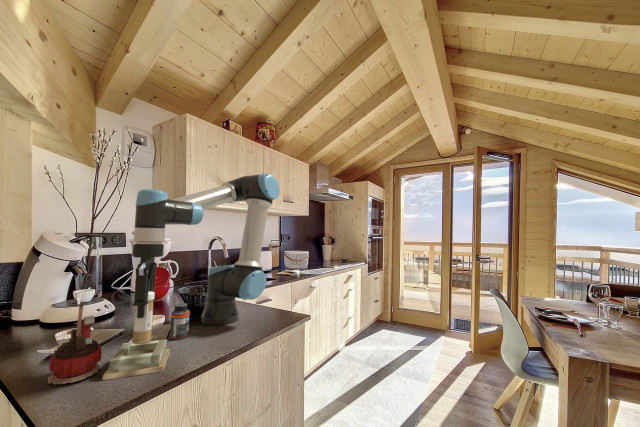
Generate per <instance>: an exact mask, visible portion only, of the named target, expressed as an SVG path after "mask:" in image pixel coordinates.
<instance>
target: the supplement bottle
mask: <svg viewBox="0 0 640 427" xmlns="http://www.w3.org/2000/svg"><path fill="white" fill-rule="evenodd" d="M190 315H191V311H190V310H189V309H188V303H184V302H180V303H177V304H174V309H173V311H171V314H170V328H169V329H170V330H169V331H170V332H169V338H170V339H171V340H173V341H174V340H176V341H177V340H178V341H179V340H183V339H185V338H187V337H188V336H189V333H190V318H191V317H190Z"/></svg>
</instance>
